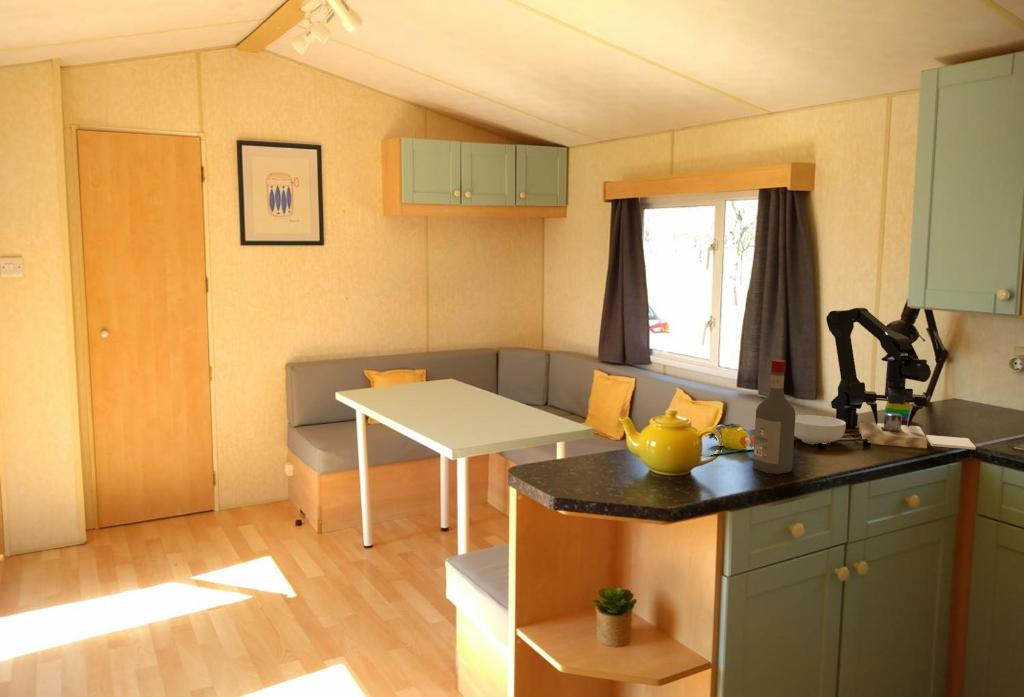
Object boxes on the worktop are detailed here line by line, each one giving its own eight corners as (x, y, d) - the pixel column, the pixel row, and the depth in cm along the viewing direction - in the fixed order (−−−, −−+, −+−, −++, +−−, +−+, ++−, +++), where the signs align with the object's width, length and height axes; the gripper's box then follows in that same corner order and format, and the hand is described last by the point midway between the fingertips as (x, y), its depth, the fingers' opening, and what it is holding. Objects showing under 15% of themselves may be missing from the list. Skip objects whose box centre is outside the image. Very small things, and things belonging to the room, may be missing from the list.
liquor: (772, 475, 227) (779, 364, 223) (747, 467, 235) (753, 359, 231) (797, 471, 231) (804, 362, 227) (771, 463, 239) (778, 357, 235)
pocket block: (862, 443, 265) (863, 433, 264) (858, 430, 282) (859, 421, 281) (926, 448, 259) (927, 438, 259) (918, 435, 276) (919, 426, 276)
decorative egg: (915, 422, 296) (917, 394, 295) (894, 423, 294) (896, 394, 293) (899, 417, 304) (901, 389, 303) (879, 418, 302) (881, 390, 301)
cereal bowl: (856, 444, 262) (857, 422, 262) (820, 451, 254) (821, 428, 253) (810, 433, 277) (812, 412, 276) (775, 439, 268) (776, 417, 267)
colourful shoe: (711, 432, 240) (679, 422, 254) (710, 462, 241) (678, 451, 255) (787, 424, 252) (753, 415, 266) (786, 453, 253) (752, 442, 267)
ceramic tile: (931, 446, 262) (932, 443, 262) (926, 437, 274) (926, 434, 274) (975, 449, 259) (975, 447, 259) (967, 440, 270) (968, 438, 270)
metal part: (883, 440, 269) (885, 415, 268) (881, 436, 274) (883, 412, 273) (900, 441, 267) (902, 416, 266) (898, 438, 272) (900, 413, 271)
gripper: (866, 378, 263) (862, 428, 265) (932, 383, 257) (928, 433, 260) (863, 373, 274) (859, 421, 276) (927, 377, 268) (923, 426, 270)
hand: (892, 425), depth 270 cm, fingers open, 9 cm apart
